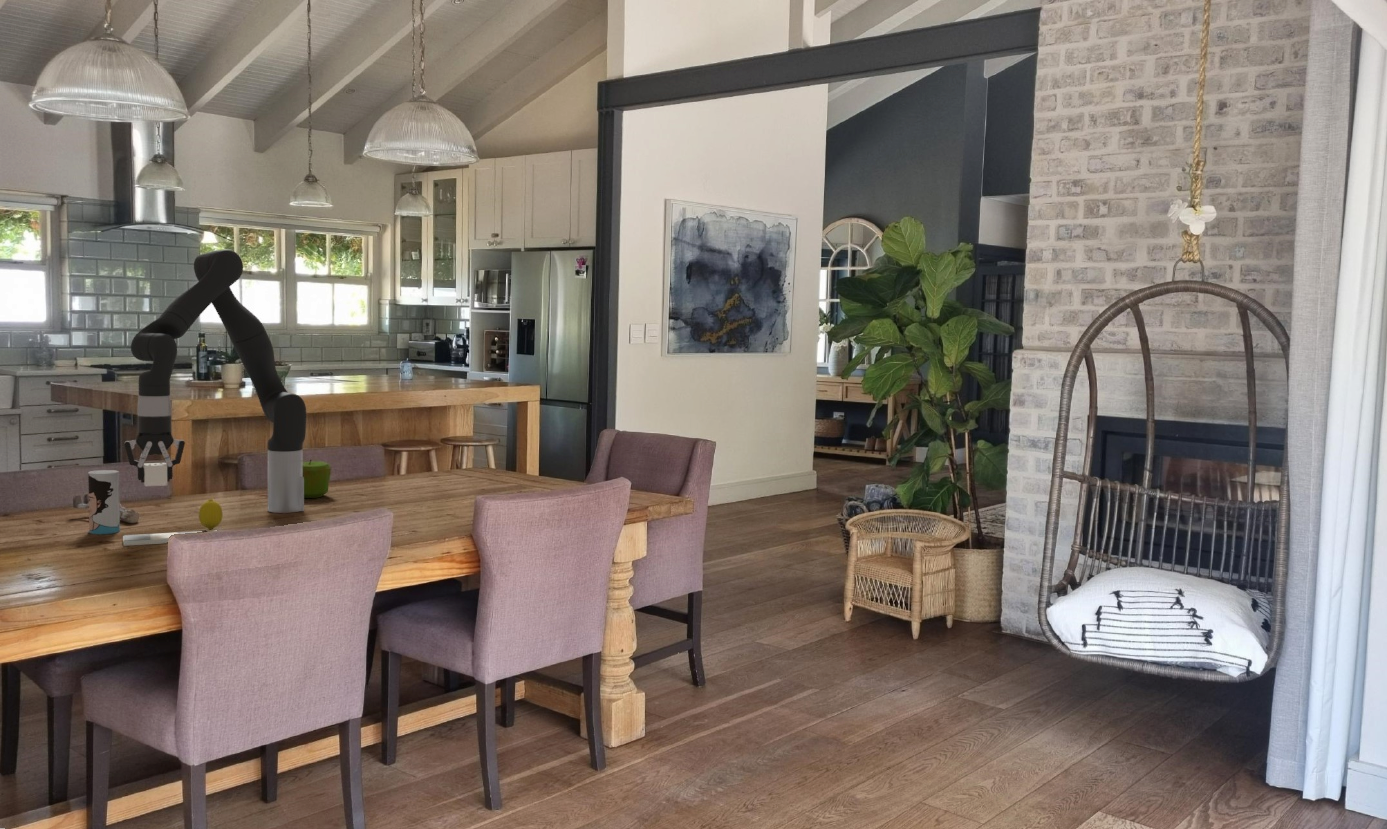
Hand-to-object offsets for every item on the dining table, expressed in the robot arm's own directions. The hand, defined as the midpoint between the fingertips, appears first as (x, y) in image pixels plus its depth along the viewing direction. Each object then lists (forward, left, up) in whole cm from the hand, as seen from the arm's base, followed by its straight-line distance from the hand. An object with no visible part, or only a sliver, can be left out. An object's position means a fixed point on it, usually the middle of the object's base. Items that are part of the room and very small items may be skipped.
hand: (155, 481), depth 282 cm
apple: (-44, -44, -13) cm, 64 cm away
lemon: (-13, +1, -13) cm, 18 cm away
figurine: (+10, -22, -13) cm, 28 cm away
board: (-5, +11, -13) cm, 17 cm away
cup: (+11, -5, -13) cm, 18 cm away
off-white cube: (0, 0, -1) cm, 1 cm away
